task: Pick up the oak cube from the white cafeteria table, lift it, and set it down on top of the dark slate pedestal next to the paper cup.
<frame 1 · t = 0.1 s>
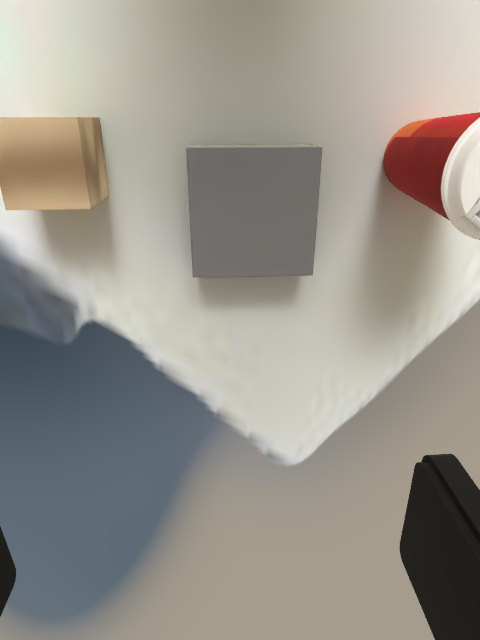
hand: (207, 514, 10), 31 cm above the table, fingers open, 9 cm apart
oak cube: (67, 158, 35), on the table
paper cup: (415, 156, 36), on the table
slate pedestal: (250, 206, 37), on the table
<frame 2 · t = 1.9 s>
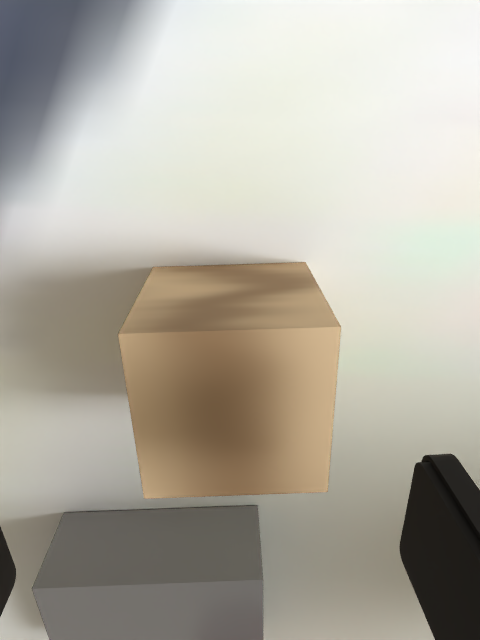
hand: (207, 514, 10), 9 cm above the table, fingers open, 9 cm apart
oak cube: (231, 332, 18), on the table
slate pedestal: (169, 573, 24), on the table
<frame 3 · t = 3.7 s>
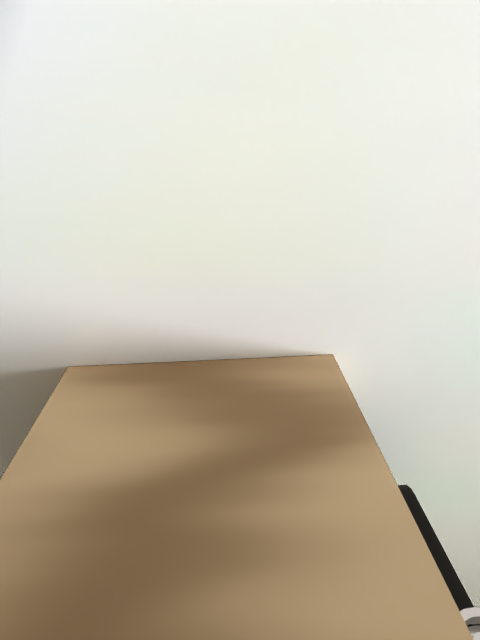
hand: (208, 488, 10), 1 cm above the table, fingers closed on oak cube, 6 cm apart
oak cube: (209, 461, 11), on the table, touching gripper
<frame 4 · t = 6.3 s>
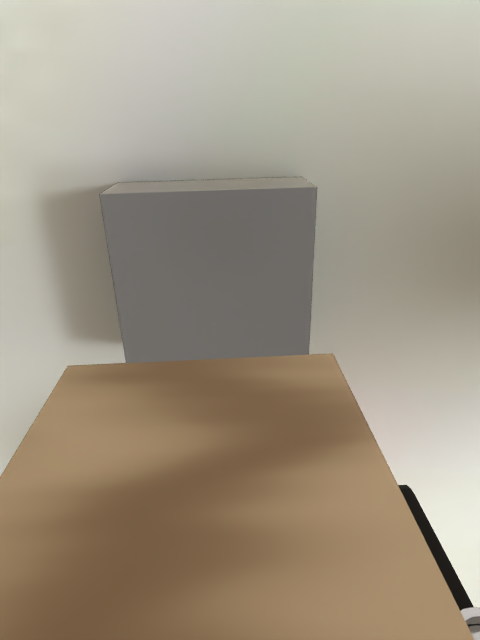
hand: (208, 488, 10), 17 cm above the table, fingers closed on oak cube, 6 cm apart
oak cube: (209, 461, 11), point 16 cm above the table, touching gripper
slate pedestal: (215, 267, 26), on the table
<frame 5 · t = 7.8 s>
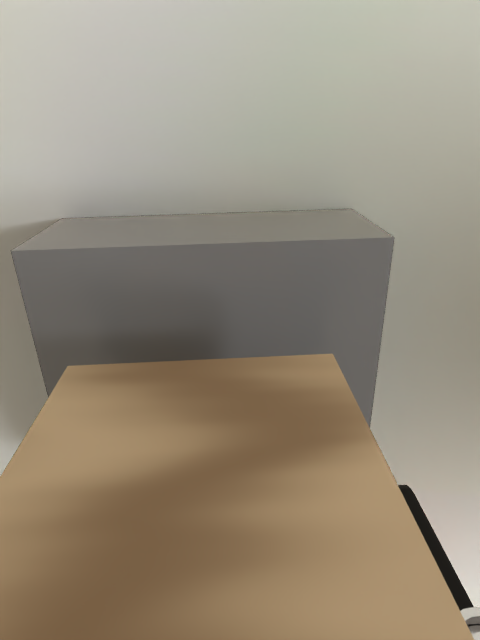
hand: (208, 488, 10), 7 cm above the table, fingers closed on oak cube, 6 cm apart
oak cube: (208, 461, 11), point 7 cm above the table, touching gripper
slate pedestal: (215, 341, 17), on the table
when the fingers open (6 cm above the table, at t = 9.0 s): oak cube drops 1 cm, resting on slate pedestal.
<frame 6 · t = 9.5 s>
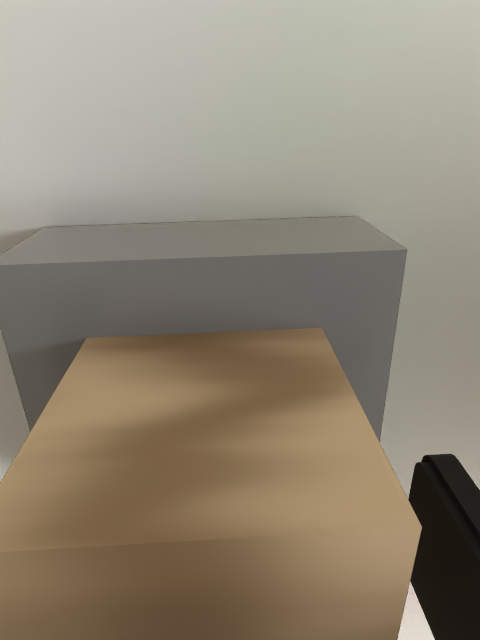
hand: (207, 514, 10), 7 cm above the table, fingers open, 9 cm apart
oak cube: (211, 426, 12), point 4 cm above the table, touching slate pedestal
slate pedestal: (211, 357, 16), on the table
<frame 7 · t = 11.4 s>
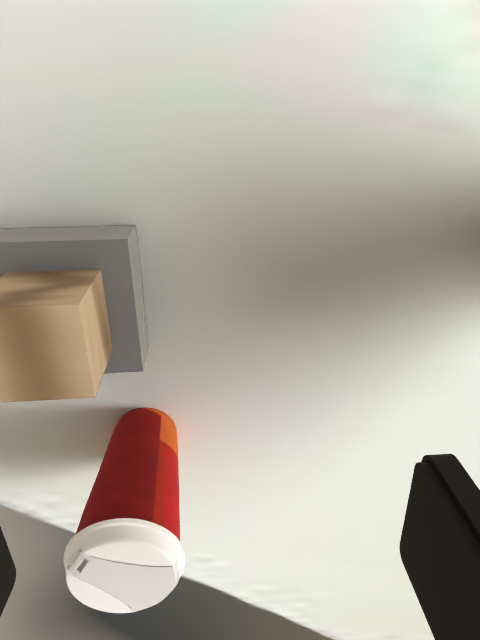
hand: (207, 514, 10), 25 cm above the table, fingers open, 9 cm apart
oak cube: (62, 312, 30), point 4 cm above the table, touching slate pedestal
paper cup: (147, 431, 40), on the table
slate pedestal: (76, 291, 33), on the table
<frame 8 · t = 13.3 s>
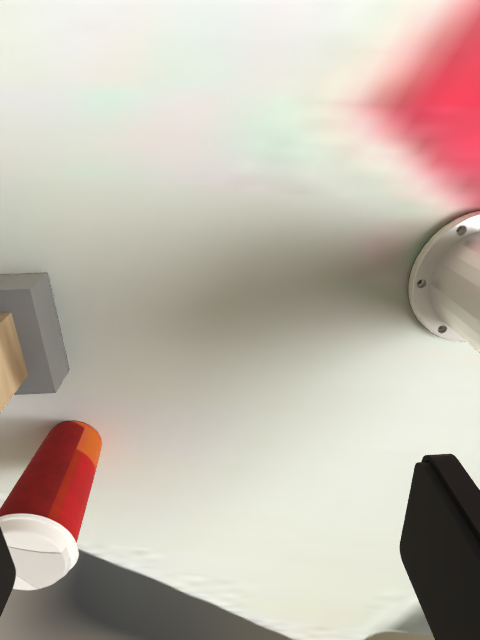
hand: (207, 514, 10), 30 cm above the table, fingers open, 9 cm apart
paper cup: (76, 440, 46), on the table
slate pedestal: (4, 325, 40), on the table
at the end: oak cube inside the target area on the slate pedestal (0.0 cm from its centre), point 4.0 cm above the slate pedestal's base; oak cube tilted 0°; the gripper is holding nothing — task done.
